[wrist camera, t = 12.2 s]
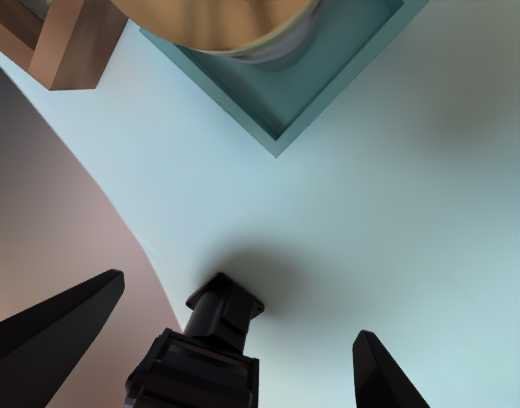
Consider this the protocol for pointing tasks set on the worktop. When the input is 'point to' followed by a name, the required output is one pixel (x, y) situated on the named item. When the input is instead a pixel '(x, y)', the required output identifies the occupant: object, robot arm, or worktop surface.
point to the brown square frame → (62, 40)
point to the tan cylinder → (233, 27)
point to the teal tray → (296, 69)
